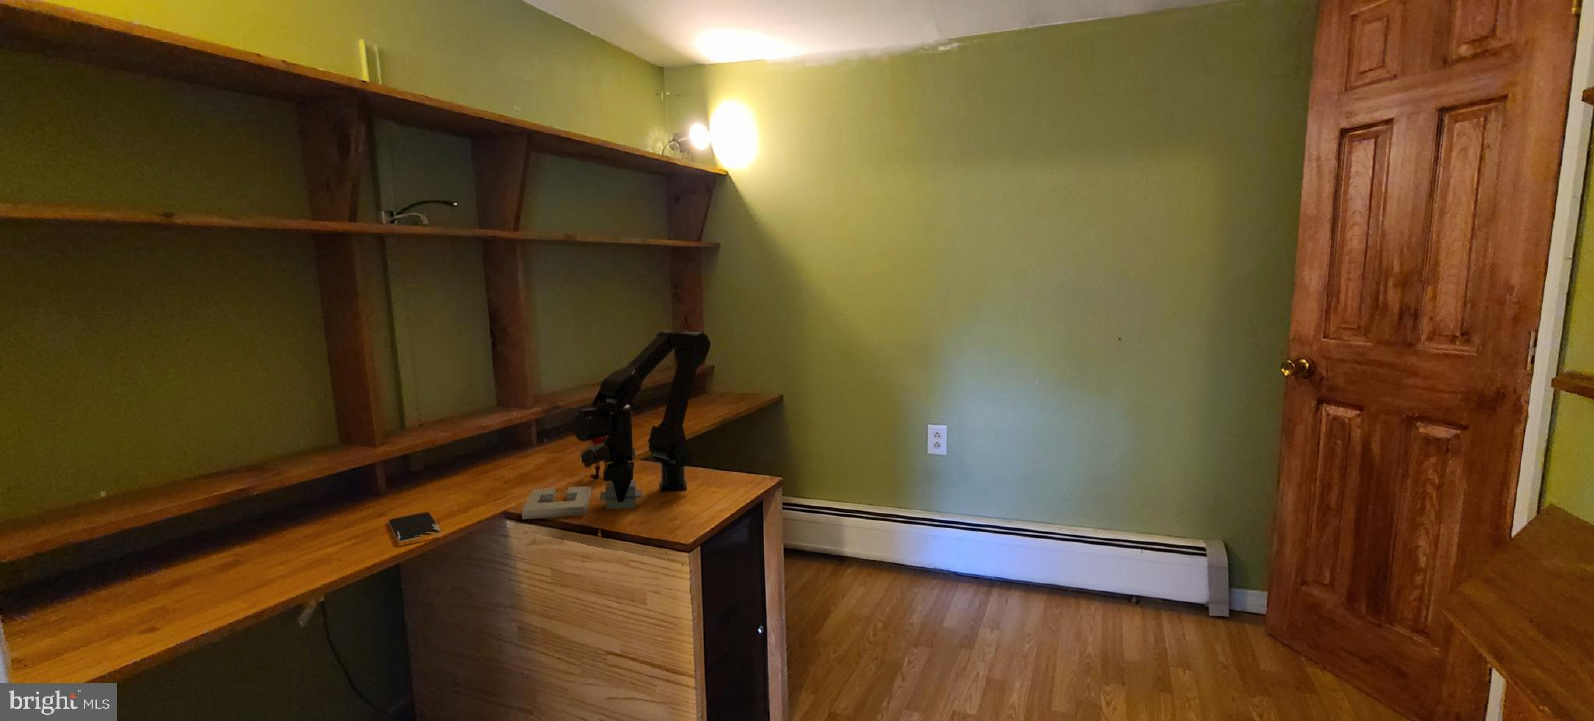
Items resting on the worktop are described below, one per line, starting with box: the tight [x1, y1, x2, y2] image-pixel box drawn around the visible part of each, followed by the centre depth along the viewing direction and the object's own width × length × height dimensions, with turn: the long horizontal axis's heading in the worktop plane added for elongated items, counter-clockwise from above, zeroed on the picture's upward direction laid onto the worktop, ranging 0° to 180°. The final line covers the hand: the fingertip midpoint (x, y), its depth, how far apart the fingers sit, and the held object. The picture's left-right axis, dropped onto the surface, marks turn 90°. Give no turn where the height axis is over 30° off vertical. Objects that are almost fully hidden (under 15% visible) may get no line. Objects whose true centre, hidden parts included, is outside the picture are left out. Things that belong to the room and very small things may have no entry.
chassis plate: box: [521, 485, 592, 520], centre depth 153 cm, size 14×13×2 cm
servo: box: [599, 480, 643, 510], centre depth 155 cm, size 8×9×5 cm
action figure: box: [585, 436, 609, 479], centre depth 174 cm, size 10×4×15 cm, turn 129°
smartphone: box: [388, 512, 442, 542], centre depth 138 cm, size 8×1×15 cm
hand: (621, 498), depth 154 cm, fingers closed on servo, 4 cm apart
